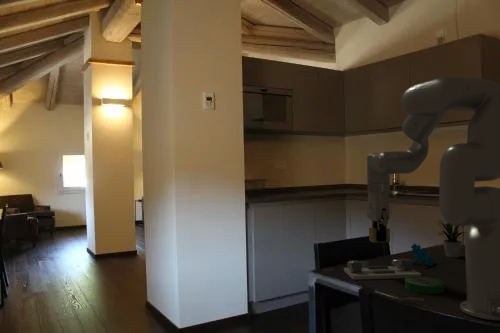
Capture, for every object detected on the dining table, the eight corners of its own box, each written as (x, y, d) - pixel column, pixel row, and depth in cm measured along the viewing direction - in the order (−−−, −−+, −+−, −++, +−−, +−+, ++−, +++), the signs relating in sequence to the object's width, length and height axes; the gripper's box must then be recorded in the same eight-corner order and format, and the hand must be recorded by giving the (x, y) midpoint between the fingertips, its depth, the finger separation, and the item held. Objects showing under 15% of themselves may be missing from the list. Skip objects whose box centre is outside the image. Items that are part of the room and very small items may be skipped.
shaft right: (397, 271, 139) (397, 261, 139) (389, 268, 143) (389, 259, 143) (414, 269, 141) (414, 260, 141) (406, 267, 145) (406, 257, 145)
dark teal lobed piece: (426, 264, 147) (409, 242, 153) (415, 274, 150) (398, 252, 156) (440, 263, 154) (423, 242, 160) (429, 273, 157) (413, 252, 163)
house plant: (423, 254, 171) (422, 216, 171) (444, 251, 178) (443, 214, 178) (454, 261, 159) (453, 219, 159) (476, 256, 165) (474, 216, 165)
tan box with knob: (373, 242, 140) (372, 228, 140) (369, 240, 144) (368, 227, 144) (390, 241, 140) (389, 228, 140) (385, 239, 144) (385, 226, 144)
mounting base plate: (421, 277, 135) (421, 271, 135) (353, 279, 135) (353, 273, 135) (406, 269, 147) (406, 263, 147) (343, 270, 147) (343, 265, 147)
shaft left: (366, 269, 143) (366, 259, 143) (370, 272, 139) (370, 262, 139) (346, 270, 143) (346, 260, 143) (350, 273, 138) (349, 263, 139)
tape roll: (449, 288, 124) (448, 279, 124) (438, 297, 115) (438, 287, 115) (412, 282, 131) (411, 274, 131) (399, 290, 123) (399, 281, 123)
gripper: (360, 187, 150) (361, 236, 150) (376, 189, 133) (376, 245, 133) (380, 186, 150) (381, 235, 150) (398, 189, 133) (399, 244, 133)
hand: (379, 239), depth 142 cm, fingers closed on tan box with knob, 4 cm apart
